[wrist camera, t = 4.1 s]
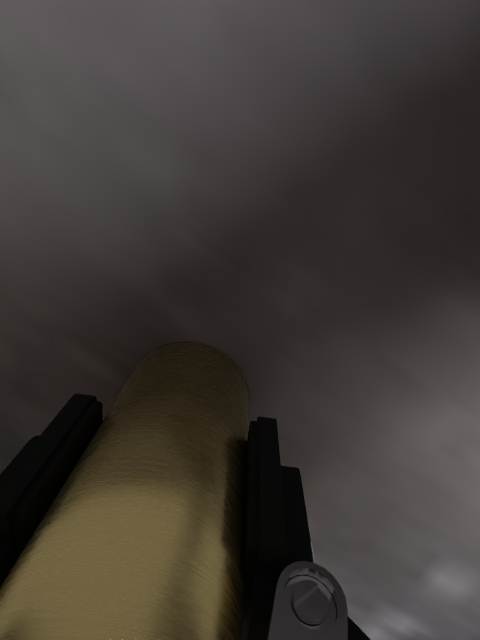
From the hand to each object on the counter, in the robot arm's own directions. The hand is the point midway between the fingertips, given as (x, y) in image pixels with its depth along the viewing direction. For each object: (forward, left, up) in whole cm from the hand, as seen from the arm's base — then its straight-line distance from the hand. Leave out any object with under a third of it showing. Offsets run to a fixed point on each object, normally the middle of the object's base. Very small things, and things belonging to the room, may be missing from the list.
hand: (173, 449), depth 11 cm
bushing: (0, 0, -3) cm, 3 cm away
